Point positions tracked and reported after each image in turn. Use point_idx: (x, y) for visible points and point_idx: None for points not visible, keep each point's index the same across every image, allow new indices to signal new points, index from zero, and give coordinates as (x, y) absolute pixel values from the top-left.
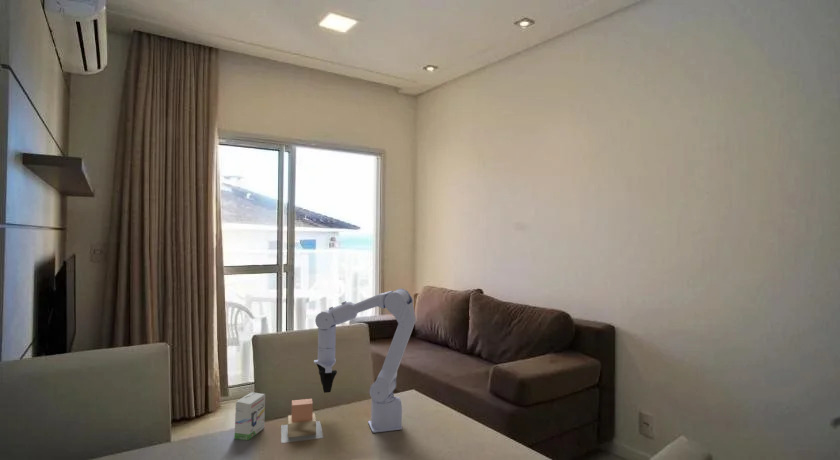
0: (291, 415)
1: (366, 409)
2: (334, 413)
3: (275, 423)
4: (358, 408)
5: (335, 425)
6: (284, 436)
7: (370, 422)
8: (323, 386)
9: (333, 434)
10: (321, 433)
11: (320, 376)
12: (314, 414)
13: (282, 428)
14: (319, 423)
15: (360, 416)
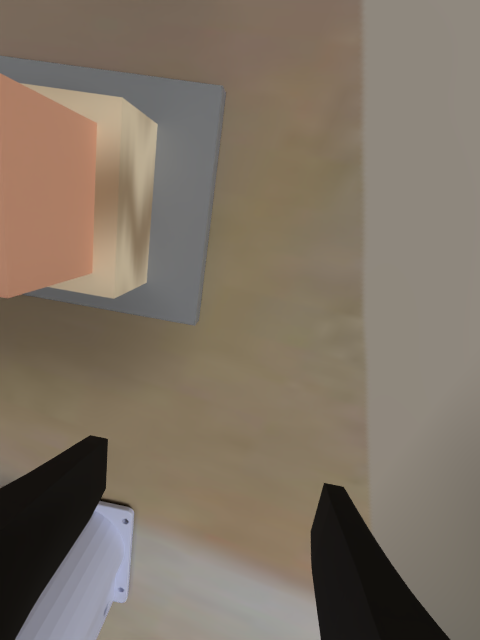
0: (118, 126)
1: (274, 552)
2: (297, 420)
3: (316, 65)
4: (302, 530)
5: (156, 382)
6: (58, 85)
7: (113, 514)
8: (35, 473)
9: (67, 346)
10: (45, 293)
11: (348, 553)
12: (90, 291)
13: (169, 89)
14: (163, 314)
15: (210, 505)
